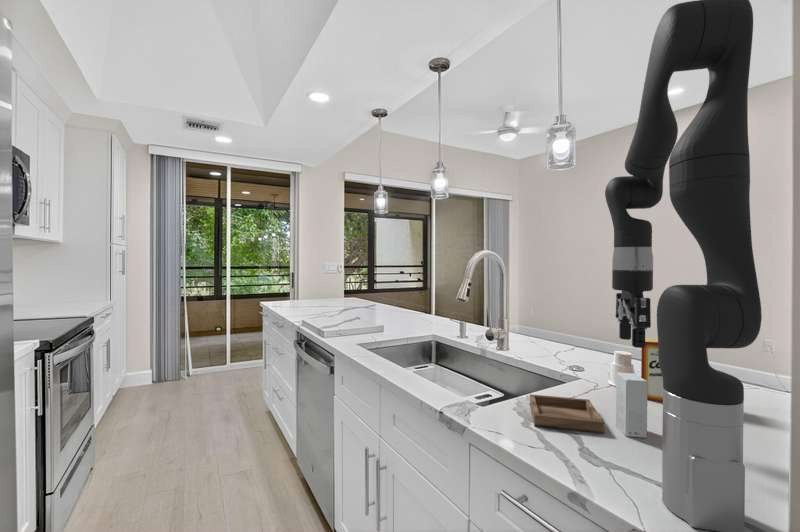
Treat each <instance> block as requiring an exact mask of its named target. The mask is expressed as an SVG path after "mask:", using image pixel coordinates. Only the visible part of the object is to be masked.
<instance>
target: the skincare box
mask: <svg viewBox="0 0 800 532" xmlns="http://www.w3.org/2000/svg"><path fill="white" fill-rule="evenodd" d="M615 387H616V388H615V389H616V390H615V392H616V393H615V426H616V427H617V428H618V429H619V430H620V431H621V433H622V434H623V435H624V436H626V437H630V438H641V439H647V438H648V400H647V381H646V380H644V379H643V378H641V375H638V374H637V373H635V374H632V373H616V386H615Z"/></svg>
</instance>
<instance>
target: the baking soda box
mask: <svg viewBox="0 0 800 532" xmlns="http://www.w3.org/2000/svg"><path fill="white" fill-rule="evenodd" d="M640 355H641V357H640V360H641V361H640V366H641V367H640V373H641V374H640V377H641V378H643V379H644V380H646V381H647V401H652V402H656V403H657V402H658V403H663V377H662V373H661V370H660V365H659V352H658V337H645V347H644V348H641V353H640Z"/></svg>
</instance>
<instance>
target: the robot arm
mask: <svg viewBox="0 0 800 532" xmlns="http://www.w3.org/2000/svg"><path fill="white" fill-rule="evenodd" d="M753 33H754V12H753V7H752V3H751V2H750V0H690V1H685V2H679V3H676V4H674V5H672V6H669V8H668V9H667V10H666V11H665V12H664V14H663V15H662V16H661V18H660V20H659V23H658V25H657V26H656V30H655V32H654V36H653V38H652V39H653V40H652V44H651V48H650V53H649V58H648V64H647V68H646V74H645V78H644V84H643V89H642V93H641V94H642V95H641V102H640V106H639V113H638V119H637V124H636V127H635V131H634V134H633V136H632V140H631V143H630V146H629V148H628V152H627V154H626V157H625V160H624V161H625V162H624V169H625V171H626V172H627V173H628V174H629V176H626V175H625V176H615V177H614V178H611V179H610V180H609V182H607V184H606V186H605V190H604V195H605V202H606V204H607V208H608V211H609V213H610V216H611V217H610V218H611V221H612V226H613V252H612V264H611V265H612V267H611V268H612V270H611V271H612V272H611V274H612V275H611V276H612V277H611V278H612V279H611V281H612V282H611V286H612V287H611V288H612V289H613V290H615V291H620V292H616V294H615V297H616V298H615V318H616V319H617V322H618V323H619V326H618V327H619V328H618V329H619V330H618V331H619V334H618V335H619V336H618V337H619V338H620V339H621V340H629V341H630V340H631V346H632V347H634V348H638V349H639V348H644V347H645V338H646V330H648V328H649V329H650V328H651V325H652V323H651V322H652V321H651V317H652V316H651V310H652V309H651V301H652V300H651V298H650V297H644V292H651V291H652V290H654V255H653V247H652V246H653V226H652V225H653V224H652V223H651V222H650V221H649V220H646V219H640V218H636V217H633V216H631V214H629V211H628V210H639V209H640V210H643V209H644V210H645V209H651V208H653V207H655V206H656V205H658V204H659V202H660V201H662V198H663V192H664V175H665V171H666V170H665V169H666V165H667V163H668V173H669V174H668V176H669V177H668V180H669V181H668V183H669V184H668V185H669V186H668V187H669V190H668V191H669V198H670V202H671V204H672V206H673V208H674V210H675V212H676V214H677V215H678V217H679V218H680V219H681V221H682V222H683V224H684V225H685V227H686V228H687V230H688V231H689V233H691V235H692V236H693V237H694V240H696V242H697V244H698V245H699V247H700V249H701V252H702V254H703V258H704V262H705V270H706V284H676V285H671V286H668V287H667V288H666V289H664V290H663V291H662V293H661V294H660V296H659V298H658V303H657V306H656V307H657V308H656V330H657V338H658V352H659V365H660V370H661V373H662V377H663V402H662V442H661V443H662V445H661V446H662V451H661V452H662V453H661V454H662V455H661V457H662V460H661V461H662V462H661V464H662V465H661V467H662V468H661V469H662V470H661V482H662V483H661V489H662V490H661V500H662V503H663V504H664V506H665V508H667V509H668V510H669V511H670V512H671V513H673V514H674V515H675V516H677V517H679V518H681V519H682V520H684V521H685V522H687V524H689V526H690V527H692V528H695V529H701V530H702V529H703V530H707V531H709V530H710V531H716V532H745V527H746V526H745V517H746V515H745V513H746V511H745V508H746V507H745V506H746V503H745V501H746V496H745V495H746V492H745V491H746V466H745V465H744V417H745V416H744V415H745V413H744V410H745V409H744V408H745V407H744V405H745V403H744V402H745V399H744V398H745V397H744V396H745V391H744V390H745V389H744V384H743V382H742V381H741V380H740V379H739V378H738V377H736V376H734V375H732V374H729V373H727V372H724V371H721V370H717V369H715V368H713V367H712V366H711V365H710V362H709V359H708V357H709V356H708V350H707V349H742V348H746V347H748V346H750V345H752V344H753V343H754V342H755V341H756V340H757V338H758V336H759V334H760V330H761V326H762V317H763V316H762V305H761V304H762V303H761V296H760V289H759V282H758V277H757V271H756V270H757V269H756V263H755V259H754V258H755V257H754V250H753V240H752V225H751V223H752V221H751V207H750V206H751V205H750V195H751V194H750V191H751V189H750V188H751V162H750V144H749V127H748V124H749V123H748V122H749V121H748V119H749V118H748V116H749V115H748V109H749V108H748V107H749V105H748V102H749V101H748V100H749V99H748V95H749V94H748V93H749V92H748V90H749V80H750V79H749V78H750V68H751V58H752V57H751V56H752V48H753V35H754V34H753ZM705 69H707V71H708V75H709V76H708V80H709V81H708V88H707V93H706V97H705V99H704V101H703V103H702V105H701V106H700V108H699V110H698V112H697V113H696V115H695V116H694V117H693V119H692V120H691V122H690V123H689V124H688V126H687V127H686V128H685V130H684V131H683V133H682V134H681V135H680V137H679V139H678V135H679V134H678V133H679V126H678V123H677V118H676V116H675V113H674V111H673V108H672V106H671V101H670V99H669V94H668V93H669V92H668V90H669V85H670V81H671V78H672V76H673V73H676V72H687V71H688V72H689V71H695V70H698V71H699V70H705ZM668 161H669V162H668Z"/></svg>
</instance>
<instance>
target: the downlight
mask: <svg viewBox="0 0 800 532" xmlns="http://www.w3.org/2000/svg"><path fill="white" fill-rule="evenodd" d="M632 355H633V354H632V353H631V352H629V351H625V350H613V361H610V365H607V375H608V378H609V379H608V380H607V383H608V384H609V385H611V386H613V387H616V373H632V374H636V373H635V372H636V371H635V367H634V366H635V365H634V364H632V362H633V361H632V359H633V358H632ZM609 370H610V371H609Z"/></svg>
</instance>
